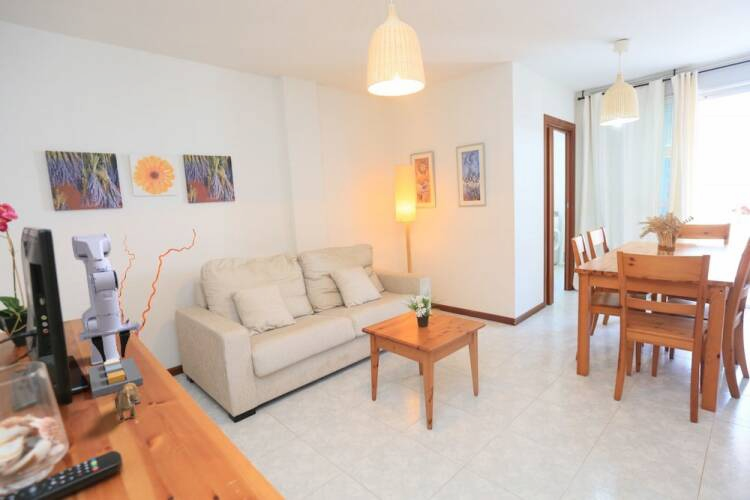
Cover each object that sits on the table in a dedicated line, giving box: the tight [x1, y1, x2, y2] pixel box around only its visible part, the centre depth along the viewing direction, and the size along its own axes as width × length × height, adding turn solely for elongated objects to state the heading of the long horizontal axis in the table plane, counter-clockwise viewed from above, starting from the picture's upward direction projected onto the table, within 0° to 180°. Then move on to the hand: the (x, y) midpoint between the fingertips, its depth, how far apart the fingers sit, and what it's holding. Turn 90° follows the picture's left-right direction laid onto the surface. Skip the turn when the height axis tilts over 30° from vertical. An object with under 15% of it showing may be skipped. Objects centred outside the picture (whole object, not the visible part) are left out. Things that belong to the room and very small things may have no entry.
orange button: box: [107, 370, 126, 385], centre depth 113 cm, size 4×4×2 cm
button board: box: [88, 356, 144, 399], centre depth 118 cm, size 21×12×2 cm, turn 39°
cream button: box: [103, 358, 120, 370], centre depth 123 cm, size 4×4×2 cm
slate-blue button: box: [105, 364, 123, 376], centre depth 118 cm, size 4×4×2 cm
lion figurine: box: [114, 383, 142, 424], centre depth 97 cm, size 15×5×9 cm, turn 34°
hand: (113, 358), depth 112 cm, fingers open, 4 cm apart
